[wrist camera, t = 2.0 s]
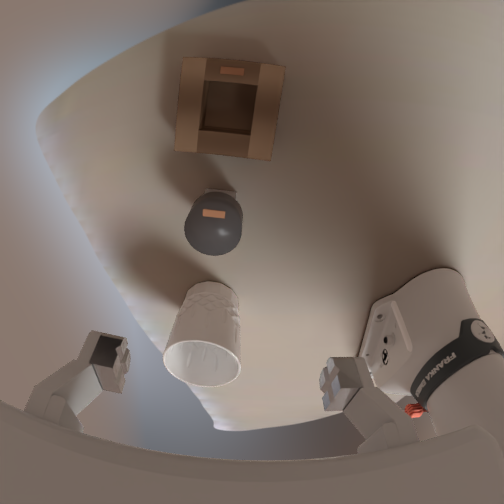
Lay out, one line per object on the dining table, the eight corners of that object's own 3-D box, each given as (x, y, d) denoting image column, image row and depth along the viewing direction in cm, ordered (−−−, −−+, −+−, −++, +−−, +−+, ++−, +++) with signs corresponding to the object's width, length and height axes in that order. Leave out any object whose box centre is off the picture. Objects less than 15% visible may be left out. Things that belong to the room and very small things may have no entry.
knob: (240, 227, 31) (238, 259, 26) (195, 222, 31) (183, 252, 26) (246, 184, 29) (244, 208, 24) (198, 179, 29) (185, 201, 23)
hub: (268, 151, 27) (270, 161, 24) (184, 142, 27) (173, 151, 23) (281, 70, 23) (285, 66, 20) (193, 61, 23) (182, 56, 19)
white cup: (248, 282, 35) (247, 347, 26) (238, 328, 39) (234, 391, 30) (182, 271, 34) (161, 333, 26) (179, 319, 38) (163, 380, 30)
